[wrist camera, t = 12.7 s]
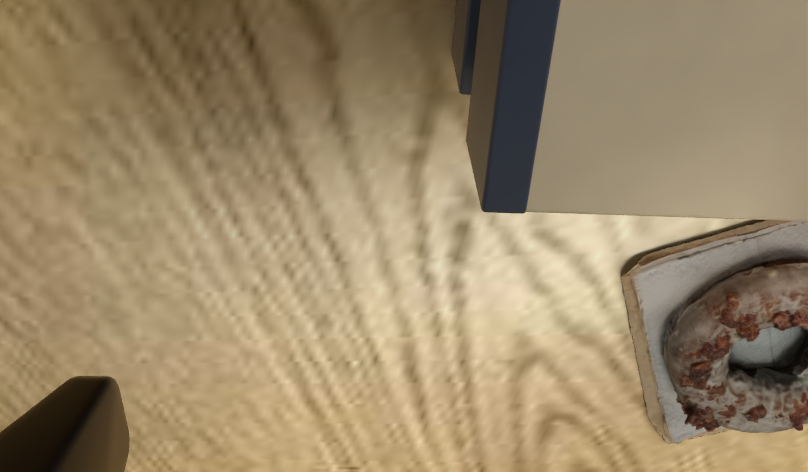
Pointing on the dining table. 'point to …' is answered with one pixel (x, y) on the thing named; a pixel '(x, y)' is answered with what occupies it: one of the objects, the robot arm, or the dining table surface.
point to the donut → (724, 331)
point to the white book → (642, 108)
